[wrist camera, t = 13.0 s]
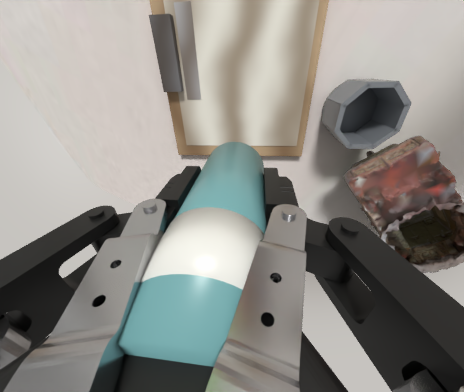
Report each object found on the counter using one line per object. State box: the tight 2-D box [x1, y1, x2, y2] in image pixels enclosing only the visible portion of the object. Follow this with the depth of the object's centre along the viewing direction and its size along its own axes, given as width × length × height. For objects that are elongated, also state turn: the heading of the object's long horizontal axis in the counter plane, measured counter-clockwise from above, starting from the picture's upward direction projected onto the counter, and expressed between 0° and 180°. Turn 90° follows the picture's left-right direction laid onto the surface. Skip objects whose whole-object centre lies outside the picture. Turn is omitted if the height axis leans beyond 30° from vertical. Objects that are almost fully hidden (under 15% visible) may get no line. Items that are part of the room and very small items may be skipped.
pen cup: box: [322, 79, 411, 149], centre depth 22 cm, size 6×6×6 cm
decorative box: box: [344, 136, 464, 273], centre depth 26 cm, size 13×20×10 cm, turn 34°
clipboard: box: [149, 0, 329, 156], centre depth 22 cm, size 18×24×2 cm
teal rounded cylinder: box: [118, 142, 267, 367], centre depth 9 cm, size 4×4×12 cm
